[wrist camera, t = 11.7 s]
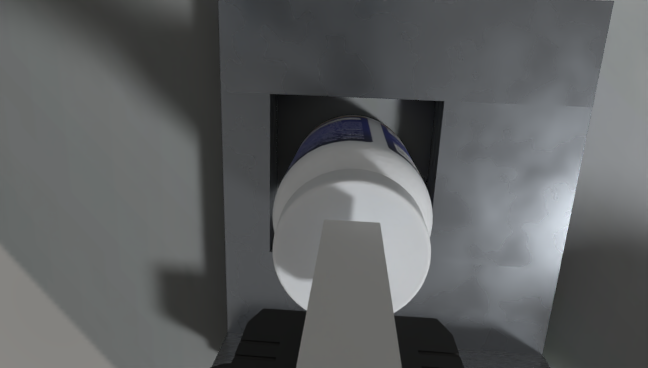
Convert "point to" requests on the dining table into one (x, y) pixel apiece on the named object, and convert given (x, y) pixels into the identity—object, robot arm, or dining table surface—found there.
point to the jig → (446, 149)
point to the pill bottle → (352, 204)
